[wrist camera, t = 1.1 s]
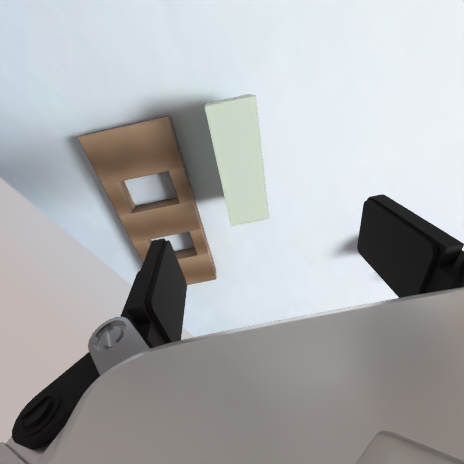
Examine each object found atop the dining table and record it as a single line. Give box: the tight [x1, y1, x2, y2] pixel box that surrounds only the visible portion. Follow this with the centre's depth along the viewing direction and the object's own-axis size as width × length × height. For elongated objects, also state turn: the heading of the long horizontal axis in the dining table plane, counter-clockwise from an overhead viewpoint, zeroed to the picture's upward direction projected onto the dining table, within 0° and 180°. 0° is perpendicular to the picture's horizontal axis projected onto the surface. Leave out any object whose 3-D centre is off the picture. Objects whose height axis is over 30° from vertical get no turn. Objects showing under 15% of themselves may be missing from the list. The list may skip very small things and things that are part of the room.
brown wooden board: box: [78, 116, 216, 285], centre depth 29 cm, size 22×9×2 cm, turn 10°
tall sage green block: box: [205, 94, 269, 226], centre depth 23 cm, size 11×4×7 cm, turn 11°
